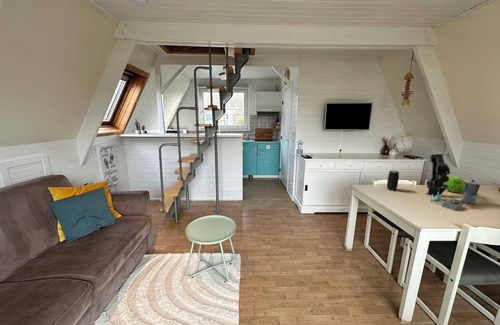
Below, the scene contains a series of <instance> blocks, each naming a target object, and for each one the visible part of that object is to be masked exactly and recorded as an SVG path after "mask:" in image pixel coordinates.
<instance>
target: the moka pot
mask: <svg viewBox="0 0 500 325" xmlns="http://www.w3.org/2000/svg"><path fill="white" fill-rule="evenodd" d="M480 187H481V184H480V183H478V182H475V180H474V179H472V180H471V181H465V190H464V192H463V195H462V198H461V201H460V202H463V203H466V204H472V205H475V204H477V193H478V192H479V190H480Z"/></svg>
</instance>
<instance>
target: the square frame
mask: <svg viewBox="0 0 500 325" xmlns="http://www.w3.org/2000/svg"><path fill="white" fill-rule="evenodd" d="M429 203H431V204H434V205H437V206H441V207H442V208H445V209H449V210H452V211H457V210H460V209H463V207H464V206H463V205H464V202H462V201H459V200H457V199H456V200H455V199H450V198H449V199H447V200H443V199H441V200H439V199H433V200H430V201H429Z"/></svg>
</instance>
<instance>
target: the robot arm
mask: <svg viewBox="0 0 500 325" xmlns="http://www.w3.org/2000/svg"><path fill="white" fill-rule="evenodd" d="M429 161H430V163H431V176H430V179H429V180H427V181H426V182H425V184H426V189H428V191H427V192H426V193H425V194H426V195H429V196H432V194H433V197H435V196H436V195H437V194H439V195H442V194H443V193H444V192H445V191H446V190H447V188H448V185H447V184H444V182H448V181H449V177H450V176H448V175H450V173H451V169H450V166H448V164H447V163H445V159H444V155H443V154H441V153H435V154H431V155H430V156H429Z"/></svg>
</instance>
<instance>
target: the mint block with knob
mask: <svg viewBox="0 0 500 325" xmlns="http://www.w3.org/2000/svg"><path fill="white" fill-rule="evenodd" d="M442 196H443V195H442V194H441V195H439V193H438V194H437V195H436V196H435V197H433V194H432V195H431V198H430V199H431V200H433V199H439V200H442Z"/></svg>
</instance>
